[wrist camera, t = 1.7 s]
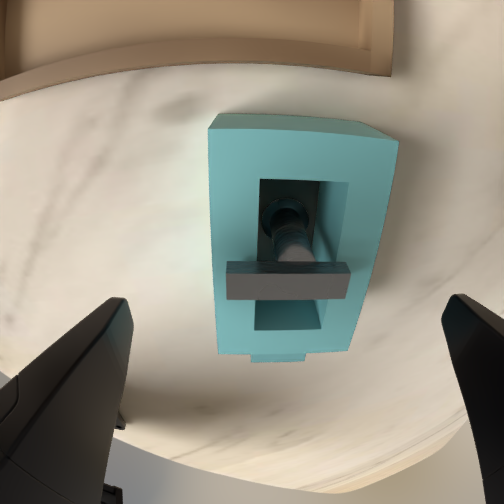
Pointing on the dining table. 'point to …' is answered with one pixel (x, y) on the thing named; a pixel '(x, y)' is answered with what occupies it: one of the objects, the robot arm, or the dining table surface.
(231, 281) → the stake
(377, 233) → the teal hollow block
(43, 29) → the tray
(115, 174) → the dining table surface
